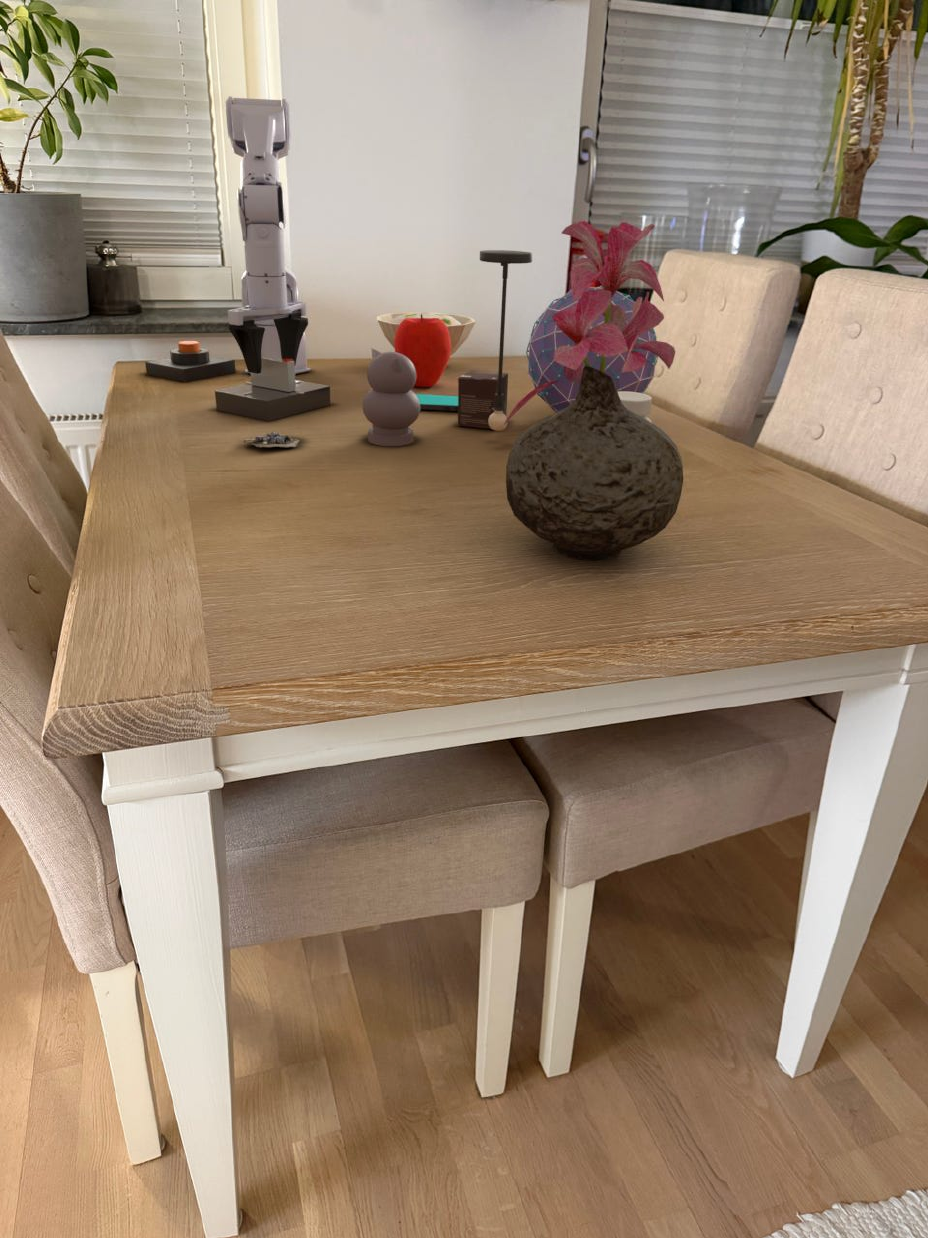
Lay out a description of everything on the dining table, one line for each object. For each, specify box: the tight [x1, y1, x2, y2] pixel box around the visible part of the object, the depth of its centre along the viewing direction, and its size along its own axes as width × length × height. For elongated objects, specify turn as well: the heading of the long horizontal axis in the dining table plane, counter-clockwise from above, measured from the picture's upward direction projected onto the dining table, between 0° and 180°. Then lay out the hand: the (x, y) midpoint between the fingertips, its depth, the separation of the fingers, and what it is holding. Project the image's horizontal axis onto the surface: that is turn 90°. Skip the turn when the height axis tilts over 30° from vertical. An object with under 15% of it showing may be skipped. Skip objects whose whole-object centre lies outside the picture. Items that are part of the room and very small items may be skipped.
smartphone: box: [415, 393, 458, 412], centre depth 144 cm, size 7×1×15 cm
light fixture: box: [479, 249, 533, 432], centre depth 118 cm, size 7×7×25 cm
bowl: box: [376, 311, 476, 357], centre depth 172 cm, size 19×19×10 cm
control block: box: [144, 347, 237, 383], centre depth 161 cm, size 12×10×4 cm
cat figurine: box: [362, 347, 422, 447], centre depth 122 cm, size 8×8×12 cm
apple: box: [394, 314, 451, 388], centre depth 156 cm, size 10×10×12 cm
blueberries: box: [243, 431, 301, 449], centre depth 120 cm, size 7×8×2 cm
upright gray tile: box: [249, 355, 296, 392], centre depth 138 cm, size 8×2×5 cm, turn 57°
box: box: [457, 369, 509, 430], centre depth 133 cm, size 6×6×7 cm
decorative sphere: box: [525, 285, 659, 414], centre depth 135 cm, size 20×20×20 cm
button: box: [177, 340, 201, 353], centre depth 160 cm, size 4×4×2 cm
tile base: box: [214, 379, 331, 422], centre depth 139 cm, size 14×12×3 cm
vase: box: [503, 220, 684, 561], centre depth 83 cm, size 17×17×30 cm
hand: (272, 368), depth 138 cm, fingers open, 7 cm apart
